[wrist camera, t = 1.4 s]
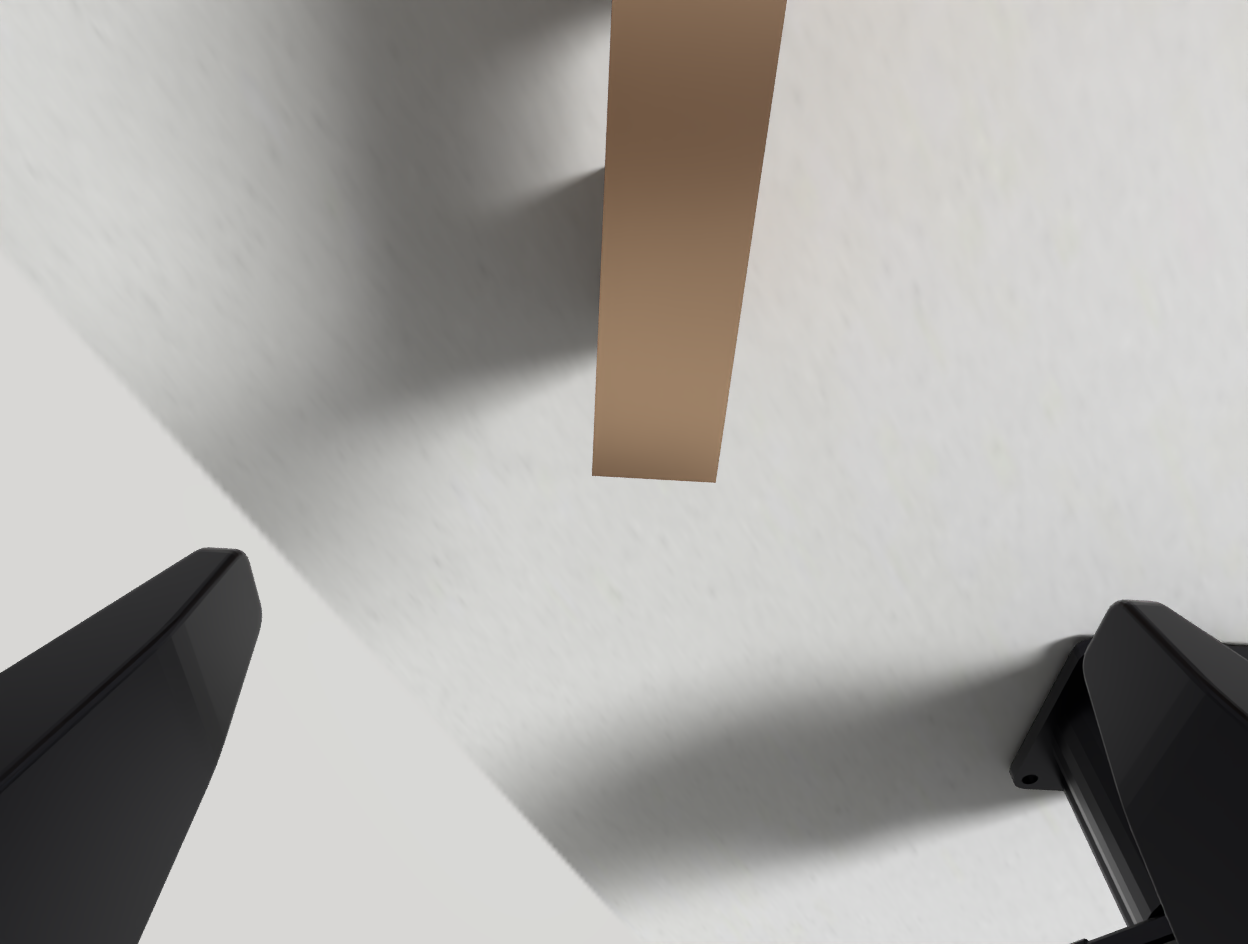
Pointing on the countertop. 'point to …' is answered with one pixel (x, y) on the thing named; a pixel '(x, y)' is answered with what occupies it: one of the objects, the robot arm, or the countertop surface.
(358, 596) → the countertop surface
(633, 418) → the walnut slot plate
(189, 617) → the robot arm
